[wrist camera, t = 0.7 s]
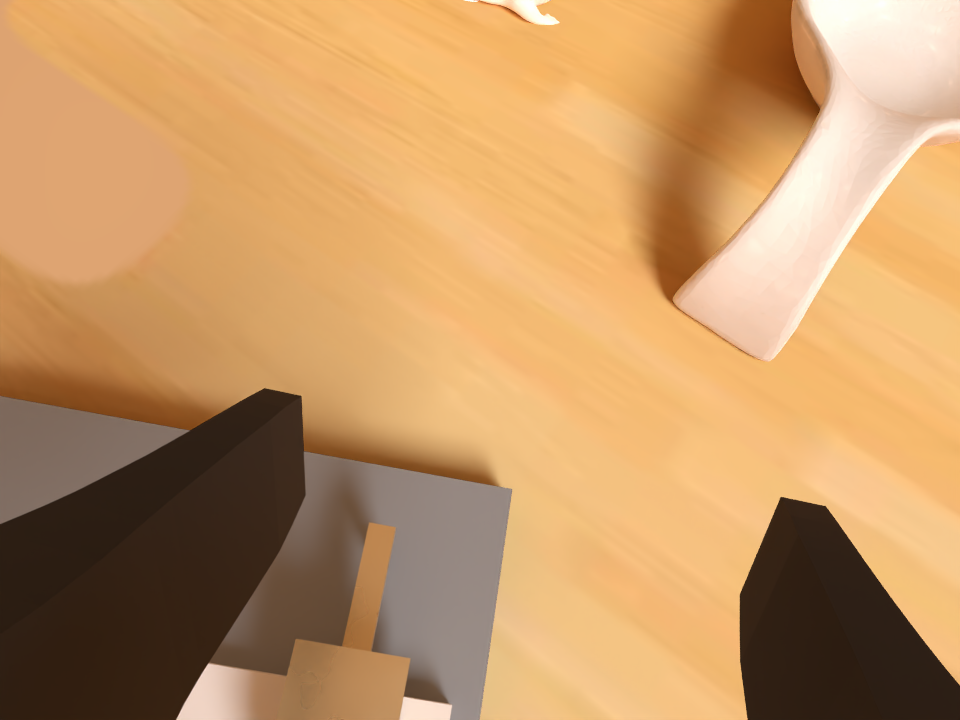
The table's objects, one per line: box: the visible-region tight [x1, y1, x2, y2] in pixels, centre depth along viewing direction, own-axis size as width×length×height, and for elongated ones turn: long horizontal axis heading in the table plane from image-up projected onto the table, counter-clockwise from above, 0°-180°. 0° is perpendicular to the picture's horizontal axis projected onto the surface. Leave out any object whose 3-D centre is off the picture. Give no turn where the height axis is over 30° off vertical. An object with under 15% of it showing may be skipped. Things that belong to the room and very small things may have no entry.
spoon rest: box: [673, 0, 960, 361], centre depth 32 cm, size 24×12×7 cm, turn 146°
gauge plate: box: [0, 396, 512, 720], centre depth 22 cm, size 12×22×6 cm, turn 81°
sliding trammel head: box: [276, 522, 411, 720], centre depth 21 cm, size 8×3×4 cm, turn 171°
